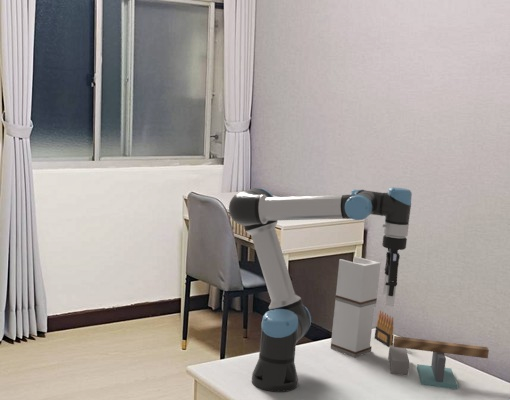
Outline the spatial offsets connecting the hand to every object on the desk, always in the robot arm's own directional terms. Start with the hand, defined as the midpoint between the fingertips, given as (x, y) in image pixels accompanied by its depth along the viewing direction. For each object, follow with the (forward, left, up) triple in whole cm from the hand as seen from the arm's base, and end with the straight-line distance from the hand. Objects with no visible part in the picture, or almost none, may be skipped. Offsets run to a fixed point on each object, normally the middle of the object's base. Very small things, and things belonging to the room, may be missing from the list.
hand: (387, 299), depth 228 cm
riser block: (+8, +24, -31) cm, 39 cm away
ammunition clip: (+4, +50, -31) cm, 59 cm away
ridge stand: (+21, +17, -31) cm, 41 cm away
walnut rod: (+21, +17, -21) cm, 34 cm away
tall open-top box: (-9, +36, -31) cm, 48 cm away
